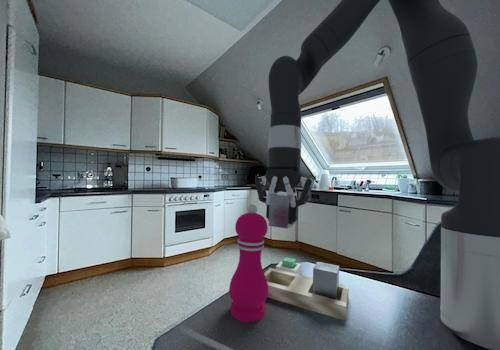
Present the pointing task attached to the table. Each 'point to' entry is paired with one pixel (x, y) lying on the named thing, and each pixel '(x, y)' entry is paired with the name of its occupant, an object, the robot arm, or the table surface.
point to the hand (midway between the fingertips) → (281, 222)
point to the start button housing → (296, 270)
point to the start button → (289, 262)
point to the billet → (326, 280)
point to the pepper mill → (249, 269)
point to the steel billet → (279, 211)
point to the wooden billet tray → (305, 293)
